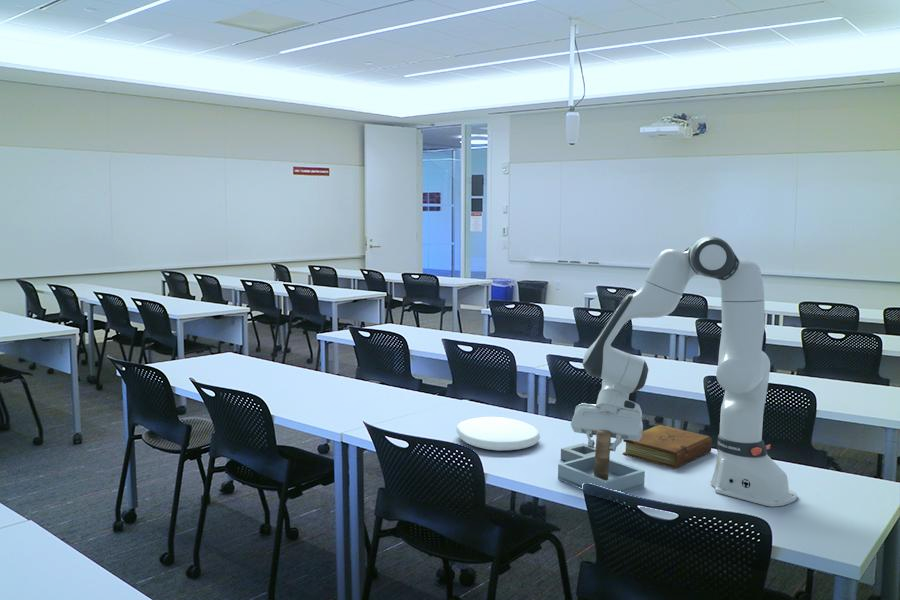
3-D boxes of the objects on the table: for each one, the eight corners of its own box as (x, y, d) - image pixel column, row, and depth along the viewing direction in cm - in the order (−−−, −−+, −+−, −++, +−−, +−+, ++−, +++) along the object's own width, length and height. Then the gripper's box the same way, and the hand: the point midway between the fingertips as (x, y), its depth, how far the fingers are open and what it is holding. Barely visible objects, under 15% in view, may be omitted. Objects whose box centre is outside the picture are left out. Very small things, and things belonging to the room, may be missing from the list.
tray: (644, 486, 206) (644, 471, 205) (605, 498, 197) (605, 482, 196) (596, 468, 220) (596, 454, 220) (557, 479, 211) (558, 464, 210)
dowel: (611, 480, 208) (614, 432, 206) (601, 483, 205) (604, 434, 204) (600, 475, 211) (603, 428, 209) (590, 478, 209) (593, 430, 207)
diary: (676, 471, 221) (677, 452, 220) (622, 456, 234) (623, 438, 233) (711, 453, 237) (712, 436, 237) (658, 440, 250) (659, 424, 250)
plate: (555, 429, 244) (499, 446, 227) (553, 448, 246) (497, 465, 228) (496, 404, 265) (440, 418, 247) (495, 421, 266) (439, 436, 248)
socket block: (606, 462, 226) (607, 451, 226) (584, 468, 220) (584, 457, 220) (583, 453, 234) (583, 443, 234) (560, 459, 228) (560, 448, 228)
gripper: (574, 396, 217) (563, 437, 209) (644, 405, 208) (635, 448, 200) (579, 408, 221) (568, 448, 214) (647, 417, 212) (638, 459, 204)
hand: (601, 448), depth 207 cm, fingers open, 5 cm apart
